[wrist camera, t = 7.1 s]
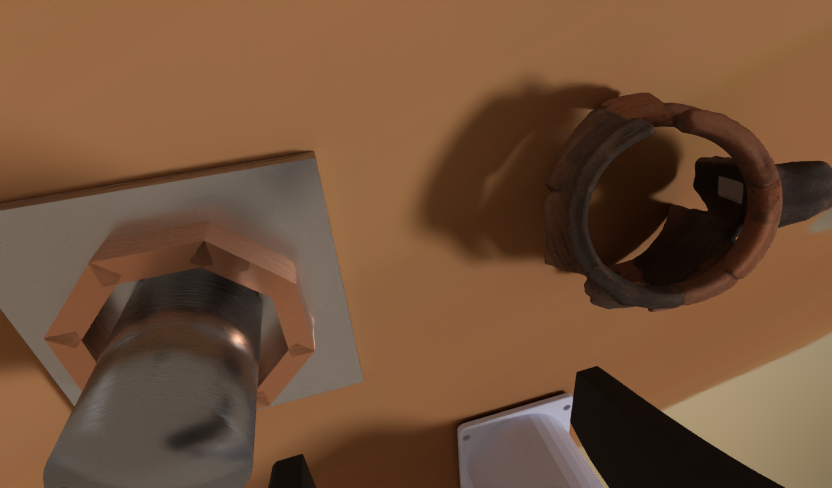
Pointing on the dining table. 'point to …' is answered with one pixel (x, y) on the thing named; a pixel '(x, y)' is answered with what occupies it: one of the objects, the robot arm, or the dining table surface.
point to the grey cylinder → (169, 391)
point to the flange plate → (183, 267)
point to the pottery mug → (677, 206)
